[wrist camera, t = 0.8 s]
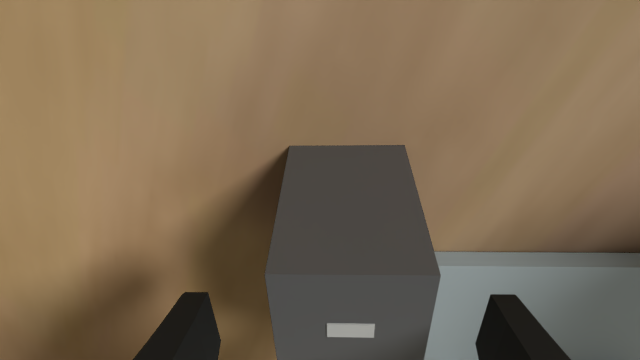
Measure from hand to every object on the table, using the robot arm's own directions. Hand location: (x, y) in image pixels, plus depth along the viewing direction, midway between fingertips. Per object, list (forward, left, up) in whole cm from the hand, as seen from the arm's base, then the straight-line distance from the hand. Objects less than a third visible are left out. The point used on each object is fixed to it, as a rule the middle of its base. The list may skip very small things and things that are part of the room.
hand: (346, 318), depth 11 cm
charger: (0, 0, -6) cm, 6 cm away
